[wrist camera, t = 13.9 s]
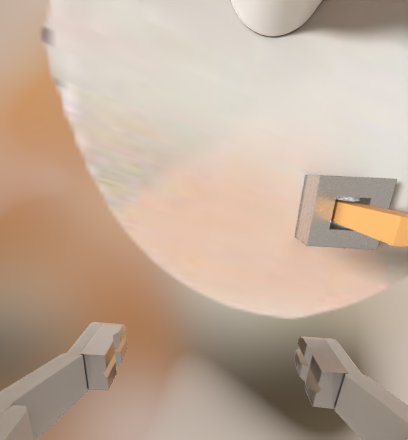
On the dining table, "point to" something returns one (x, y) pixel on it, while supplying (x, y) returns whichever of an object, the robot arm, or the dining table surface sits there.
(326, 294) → the dining table surface
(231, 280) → the dining table surface
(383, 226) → the rectangular peg
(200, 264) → the dining table surface
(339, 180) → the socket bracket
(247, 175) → the dining table surface
